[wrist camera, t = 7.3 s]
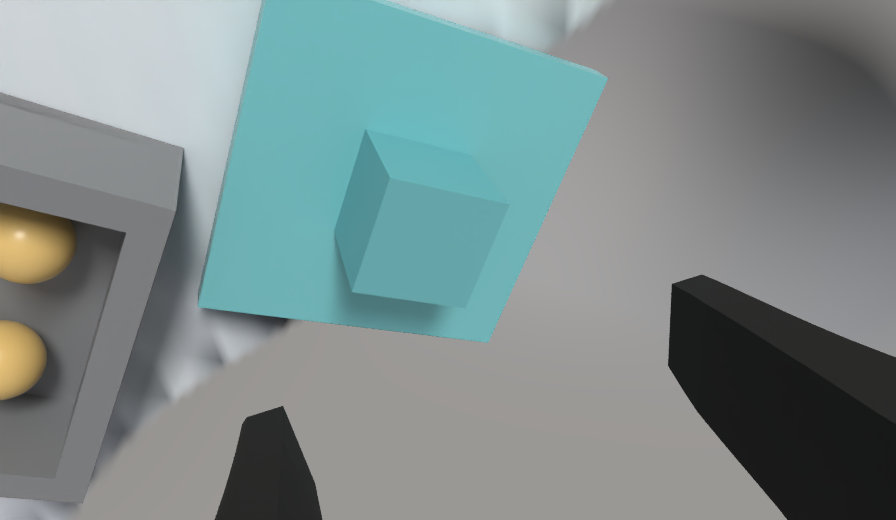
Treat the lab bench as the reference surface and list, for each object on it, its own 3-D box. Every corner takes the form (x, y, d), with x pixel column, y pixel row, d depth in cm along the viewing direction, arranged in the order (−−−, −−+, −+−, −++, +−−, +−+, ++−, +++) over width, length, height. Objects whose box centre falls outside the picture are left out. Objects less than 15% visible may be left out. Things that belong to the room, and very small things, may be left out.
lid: (474, 317, 23) (521, 406, 20) (198, 279, 20) (194, 379, 16) (585, 64, 19) (667, 116, 16) (269, -42, 16) (284, -6, 12)
